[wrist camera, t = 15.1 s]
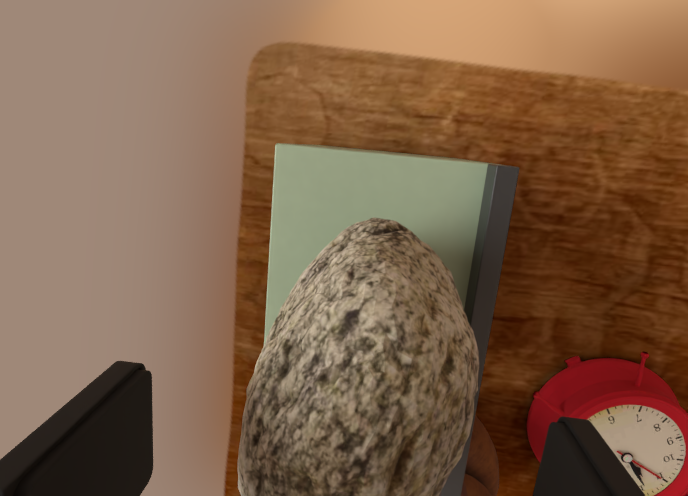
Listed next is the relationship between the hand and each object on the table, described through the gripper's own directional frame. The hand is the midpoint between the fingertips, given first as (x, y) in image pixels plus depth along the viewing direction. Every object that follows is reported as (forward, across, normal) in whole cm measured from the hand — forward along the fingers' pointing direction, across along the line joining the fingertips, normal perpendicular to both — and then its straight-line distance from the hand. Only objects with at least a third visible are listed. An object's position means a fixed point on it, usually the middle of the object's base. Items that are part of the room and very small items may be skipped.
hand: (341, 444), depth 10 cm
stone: (+9, 0, +1) cm, 9 cm away
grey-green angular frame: (+22, -1, +1) cm, 22 cm away
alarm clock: (+21, -19, +13) cm, 32 cm away
